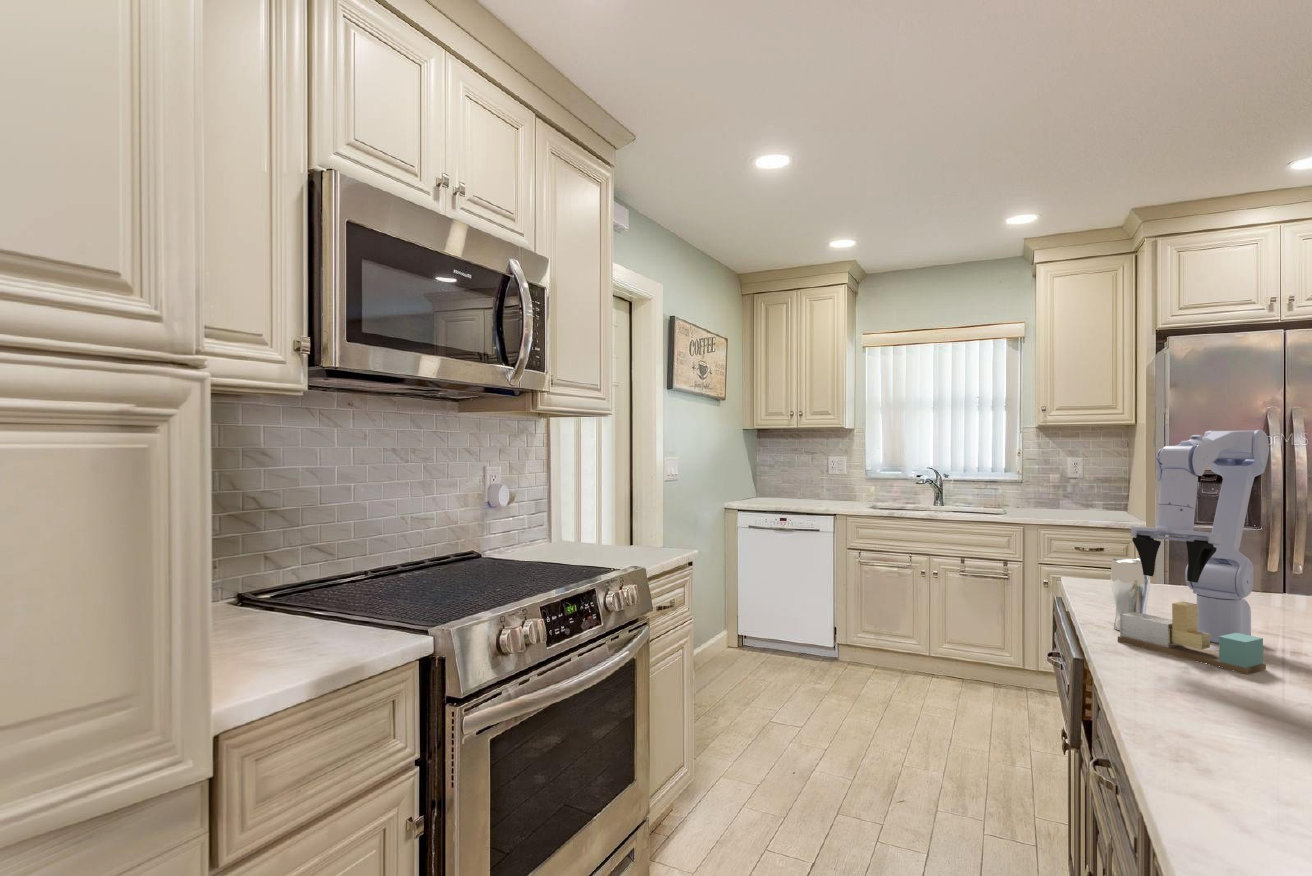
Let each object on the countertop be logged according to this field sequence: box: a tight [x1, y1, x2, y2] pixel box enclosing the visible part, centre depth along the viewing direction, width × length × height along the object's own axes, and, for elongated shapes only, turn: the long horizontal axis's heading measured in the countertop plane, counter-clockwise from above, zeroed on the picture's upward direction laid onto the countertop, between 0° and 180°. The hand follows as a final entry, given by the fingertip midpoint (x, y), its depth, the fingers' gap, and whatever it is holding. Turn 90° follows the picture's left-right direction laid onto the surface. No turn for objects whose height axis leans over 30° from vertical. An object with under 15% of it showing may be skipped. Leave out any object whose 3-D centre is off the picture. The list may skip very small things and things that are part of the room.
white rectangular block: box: [1119, 612, 1181, 648], centre depth 137 cm, size 4×9×4 cm, turn 25°
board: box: [1117, 635, 1267, 675], centre depth 131 cm, size 6×22×1 cm, turn 25°
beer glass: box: [1110, 557, 1151, 631], centre depth 148 cm, size 7×7×15 cm
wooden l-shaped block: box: [1170, 601, 1211, 650], centre depth 134 cm, size 4×13×8 cm, turn 25°
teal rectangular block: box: [1218, 633, 1264, 668], centre depth 123 cm, size 6×4×4 cm
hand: (1169, 578), depth 130 cm, fingers open, 7 cm apart
